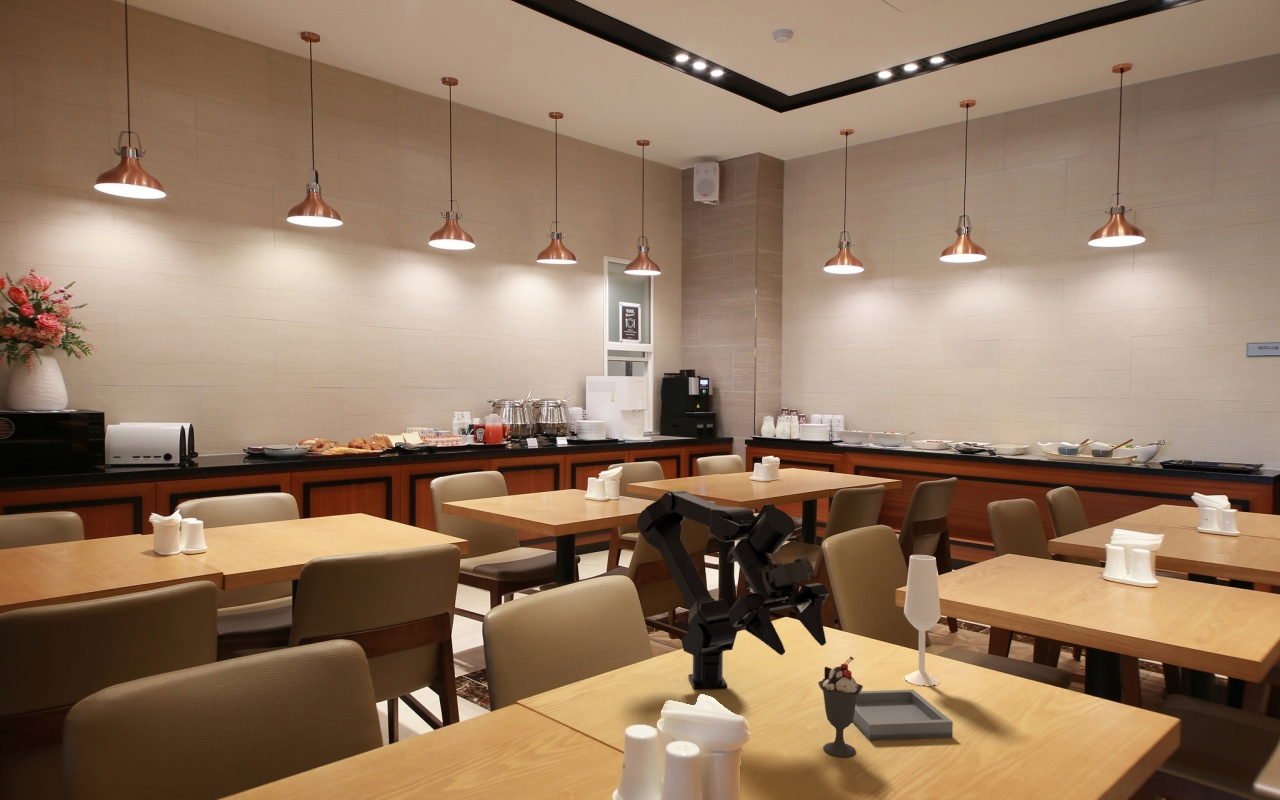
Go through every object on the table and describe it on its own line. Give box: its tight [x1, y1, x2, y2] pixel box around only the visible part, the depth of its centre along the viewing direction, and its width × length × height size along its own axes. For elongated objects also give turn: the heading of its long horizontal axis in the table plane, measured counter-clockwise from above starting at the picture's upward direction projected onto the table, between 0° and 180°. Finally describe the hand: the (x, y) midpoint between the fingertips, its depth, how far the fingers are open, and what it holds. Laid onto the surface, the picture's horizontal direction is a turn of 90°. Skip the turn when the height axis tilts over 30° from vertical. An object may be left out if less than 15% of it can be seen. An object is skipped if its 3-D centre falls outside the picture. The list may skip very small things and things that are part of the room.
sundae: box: [818, 656, 864, 758], centre depth 121 cm, size 7×7×15 cm
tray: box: [852, 689, 954, 741], centre depth 132 cm, size 14×14×2 cm
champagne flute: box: [903, 554, 942, 686], centre depth 151 cm, size 7×7×24 cm
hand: (804, 648), depth 127 cm, fingers open, 9 cm apart
